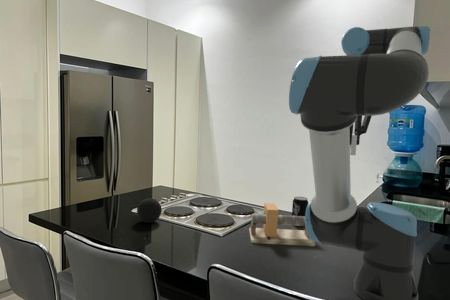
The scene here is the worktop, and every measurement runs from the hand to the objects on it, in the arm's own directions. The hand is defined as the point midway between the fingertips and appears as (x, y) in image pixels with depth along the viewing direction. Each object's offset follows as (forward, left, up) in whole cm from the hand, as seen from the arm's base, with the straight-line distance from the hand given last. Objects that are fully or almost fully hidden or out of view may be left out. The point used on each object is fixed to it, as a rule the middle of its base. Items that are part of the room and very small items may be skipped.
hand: (351, 154), depth 109 cm
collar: (+15, +23, -32) cm, 43 cm away
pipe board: (+15, +19, -34) cm, 42 cm away
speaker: (+26, +72, -35) cm, 84 cm away
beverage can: (+33, +8, -35) cm, 48 cm away
